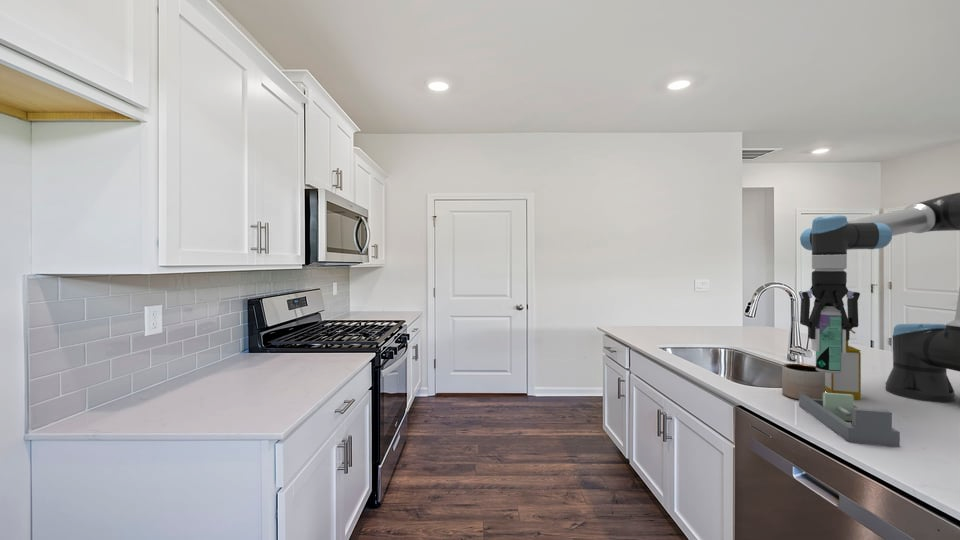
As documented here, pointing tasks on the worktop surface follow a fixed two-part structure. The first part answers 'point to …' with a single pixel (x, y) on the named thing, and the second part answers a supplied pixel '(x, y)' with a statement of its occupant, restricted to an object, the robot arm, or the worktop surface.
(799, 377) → the planter
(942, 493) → the worktop surface
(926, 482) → the worktop surface
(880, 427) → the lane
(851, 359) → the soap bottle
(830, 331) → the spray can
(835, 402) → the pusher
